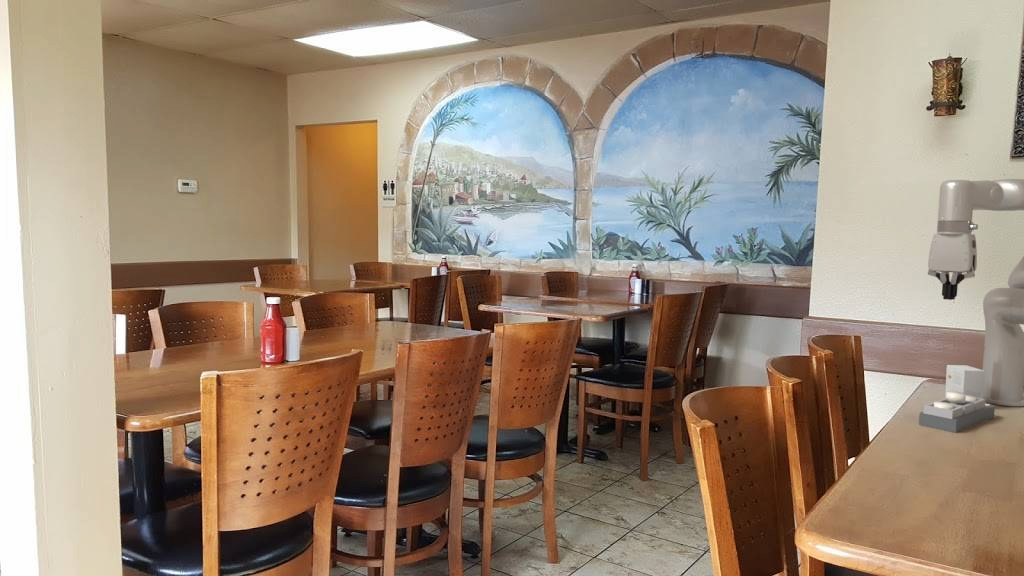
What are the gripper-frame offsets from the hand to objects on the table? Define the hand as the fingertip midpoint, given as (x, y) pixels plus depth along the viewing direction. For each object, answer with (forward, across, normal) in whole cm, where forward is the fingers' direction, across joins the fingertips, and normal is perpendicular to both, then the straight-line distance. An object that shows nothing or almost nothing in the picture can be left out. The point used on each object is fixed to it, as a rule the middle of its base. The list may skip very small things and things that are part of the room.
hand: (949, 299), depth 184 cm
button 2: (+26, -8, +5) cm, 27 cm away
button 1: (+26, -8, +19) cm, 33 cm away
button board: (+29, -8, +10) cm, 32 cm away
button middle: (+24, -7, +12) cm, 28 cm away
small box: (+29, -2, -9) cm, 31 cm away
